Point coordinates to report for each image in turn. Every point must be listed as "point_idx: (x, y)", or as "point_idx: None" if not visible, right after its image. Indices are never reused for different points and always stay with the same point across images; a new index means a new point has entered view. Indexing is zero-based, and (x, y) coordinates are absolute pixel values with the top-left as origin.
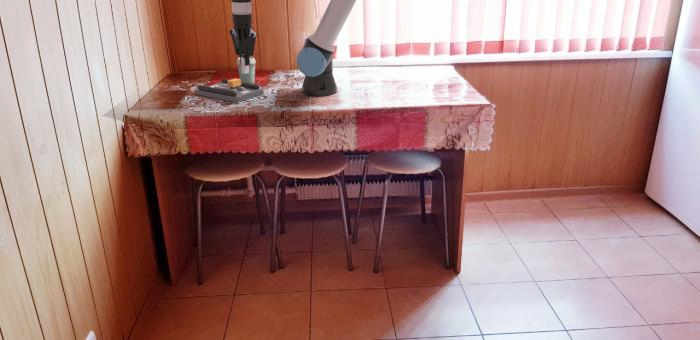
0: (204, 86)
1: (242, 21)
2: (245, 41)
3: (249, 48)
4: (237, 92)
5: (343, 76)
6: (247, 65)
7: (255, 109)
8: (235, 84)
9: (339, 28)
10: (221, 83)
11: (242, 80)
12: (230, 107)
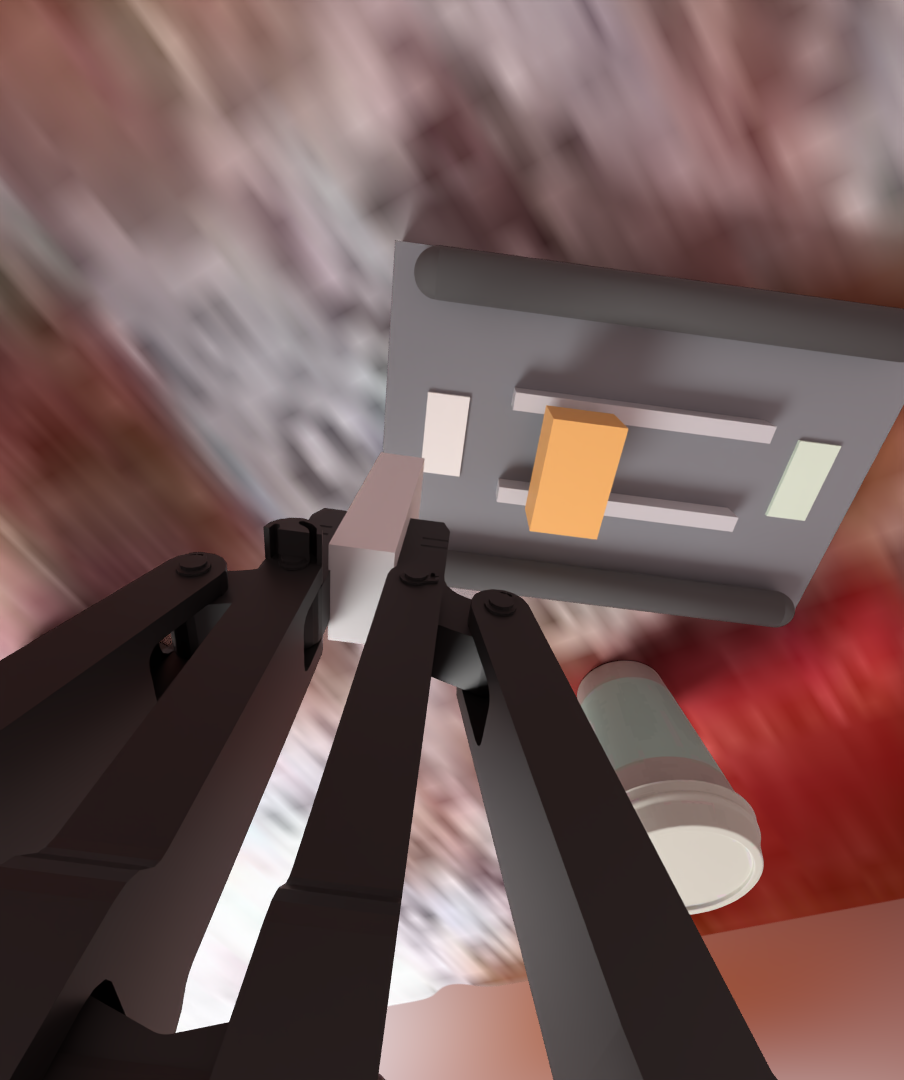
0: (856, 320)
1: None
2: (70, 836)
3: (52, 652)
4: (503, 403)
5: (250, 932)
6: (324, 515)
7: (109, 101)
8: (541, 445)
9: None
10: (779, 585)
11: (645, 684)
12: (351, 35)
